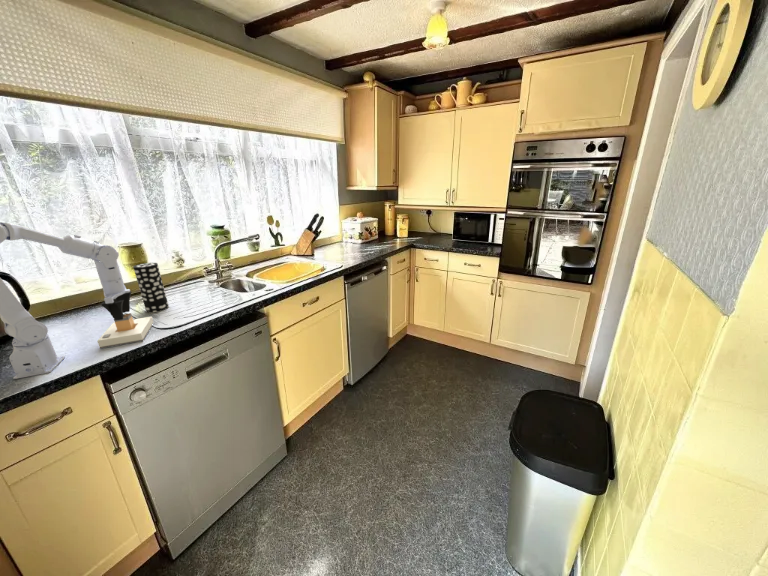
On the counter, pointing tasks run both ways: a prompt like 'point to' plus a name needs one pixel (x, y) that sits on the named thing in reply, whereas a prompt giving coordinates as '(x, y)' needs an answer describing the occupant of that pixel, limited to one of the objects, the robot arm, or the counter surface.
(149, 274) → the white-spotted black cylinder
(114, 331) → the socket
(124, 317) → the plug
